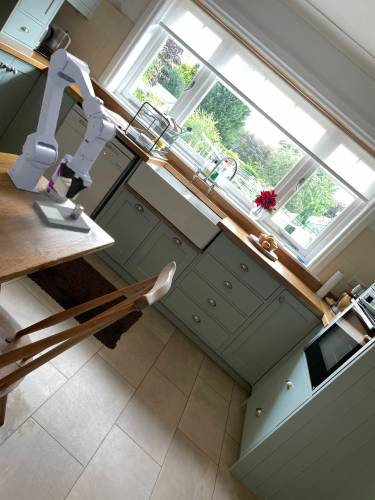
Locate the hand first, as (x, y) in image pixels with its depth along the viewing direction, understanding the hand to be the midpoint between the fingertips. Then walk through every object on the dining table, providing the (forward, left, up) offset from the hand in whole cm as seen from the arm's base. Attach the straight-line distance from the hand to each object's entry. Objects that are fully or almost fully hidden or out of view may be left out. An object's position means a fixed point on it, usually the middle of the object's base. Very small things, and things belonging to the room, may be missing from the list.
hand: (64, 191), depth 118 cm
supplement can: (-14, +9, -10) cm, 19 cm away
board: (0, +4, -10) cm, 11 cm away
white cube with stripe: (0, 0, 0) cm, 0 cm away
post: (0, +8, -8) cm, 12 cm away
